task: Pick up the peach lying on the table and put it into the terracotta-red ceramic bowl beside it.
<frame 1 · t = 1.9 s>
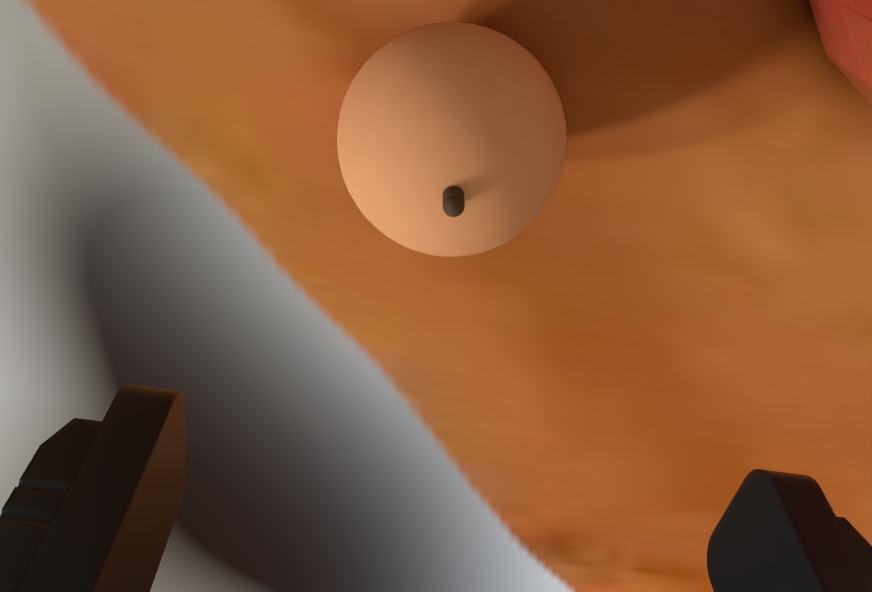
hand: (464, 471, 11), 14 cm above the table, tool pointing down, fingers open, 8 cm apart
peach: (450, 101, 22), on the table
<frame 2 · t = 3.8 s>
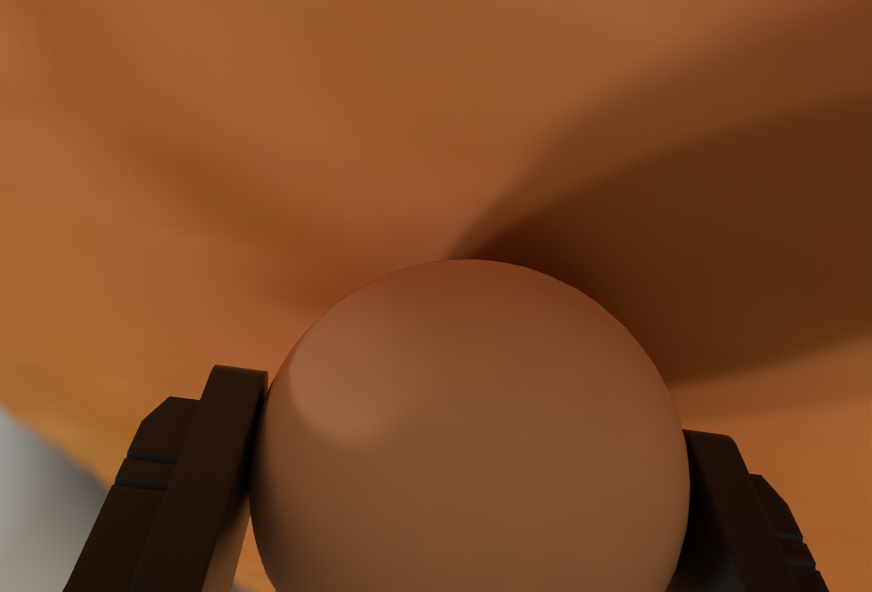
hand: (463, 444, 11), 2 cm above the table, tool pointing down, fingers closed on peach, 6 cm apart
peach: (461, 340, 13), on the table, touching gripper
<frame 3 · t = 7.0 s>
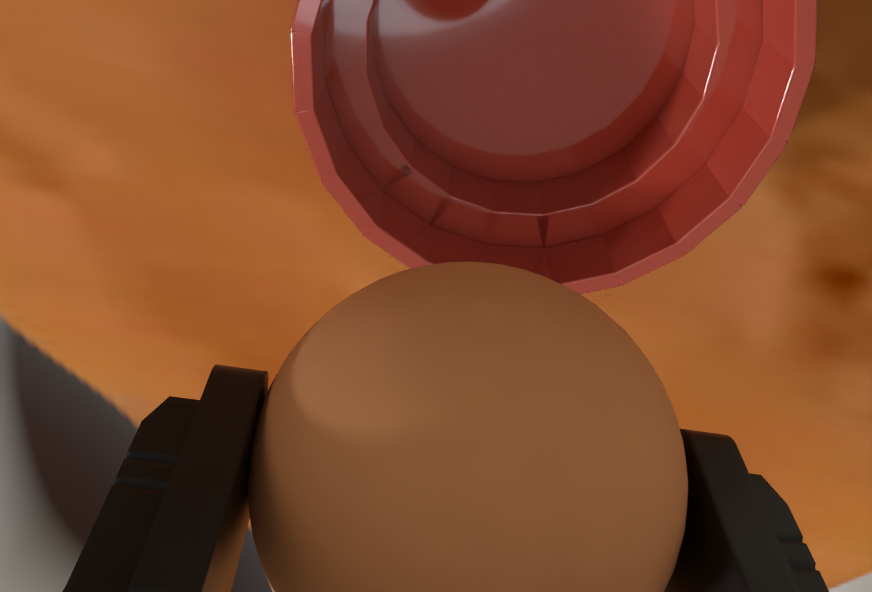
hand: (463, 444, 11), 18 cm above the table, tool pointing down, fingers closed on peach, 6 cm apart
bowl: (530, 32, 25), on the table
peach: (460, 342, 13), point 16 cm above the table, touching gripper
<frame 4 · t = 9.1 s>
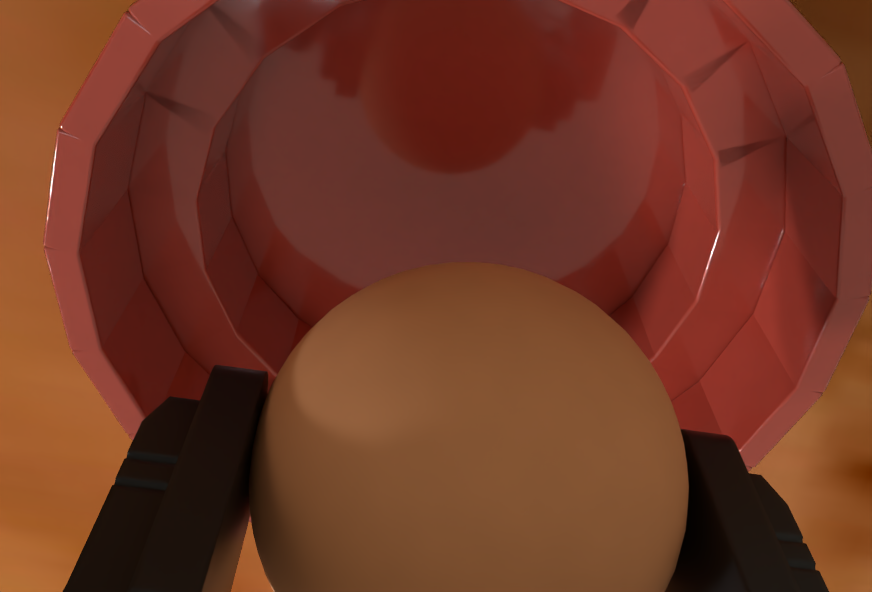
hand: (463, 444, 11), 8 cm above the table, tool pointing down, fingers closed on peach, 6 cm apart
bowl: (454, 186, 18), on the table
peach: (461, 342, 13), point 6 cm above the table, touching gripper
when the fingers open (5 cm above the table, at t = 10.6 s): peach drops 2 cm, resting on bowl.
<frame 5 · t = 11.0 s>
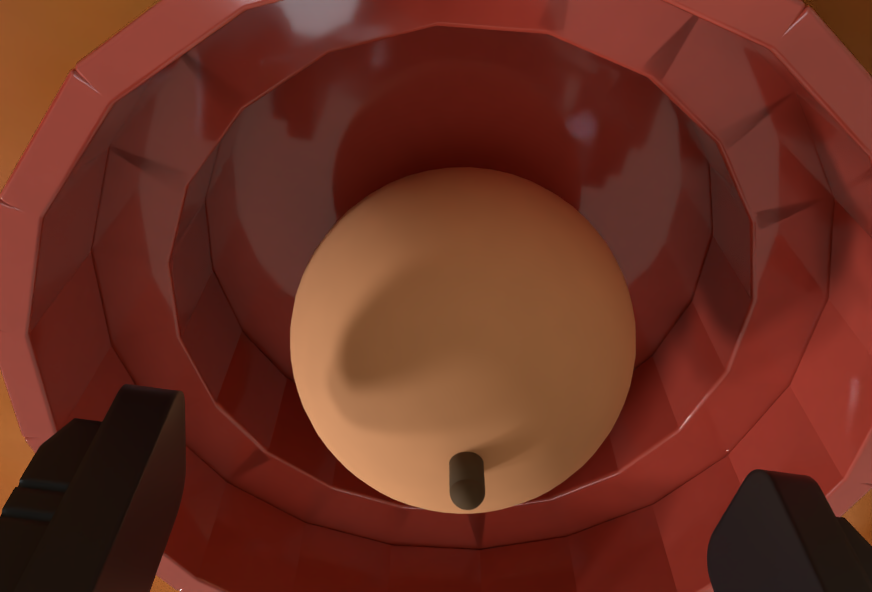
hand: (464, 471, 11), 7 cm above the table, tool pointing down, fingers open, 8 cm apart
bowl: (457, 237, 16), on the table
peach: (458, 251, 16), point 1 cm above the table, touching bowl
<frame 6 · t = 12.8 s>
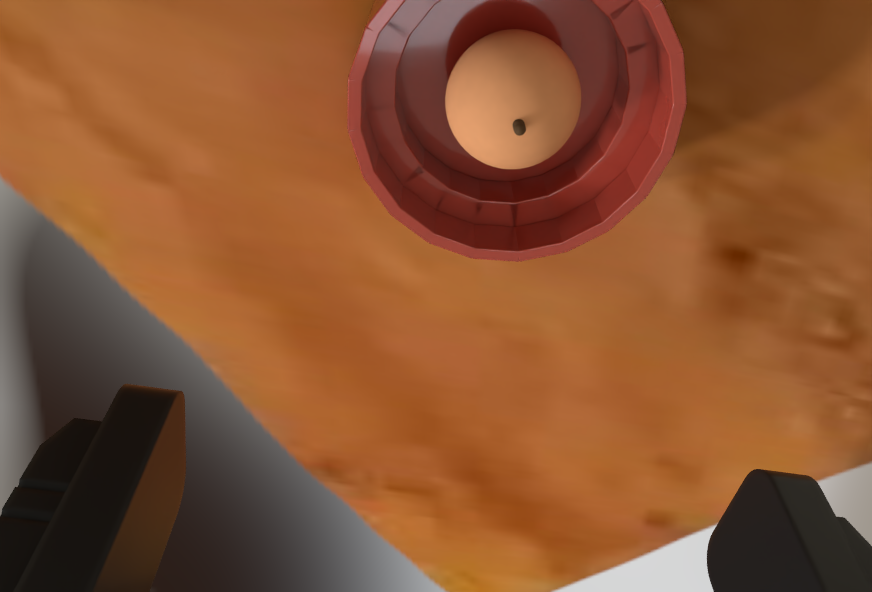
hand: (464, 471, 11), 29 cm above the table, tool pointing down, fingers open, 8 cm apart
bowl: (506, 76, 36), on the table
peach: (507, 80, 36), point 1 cm above the table, touching bowl
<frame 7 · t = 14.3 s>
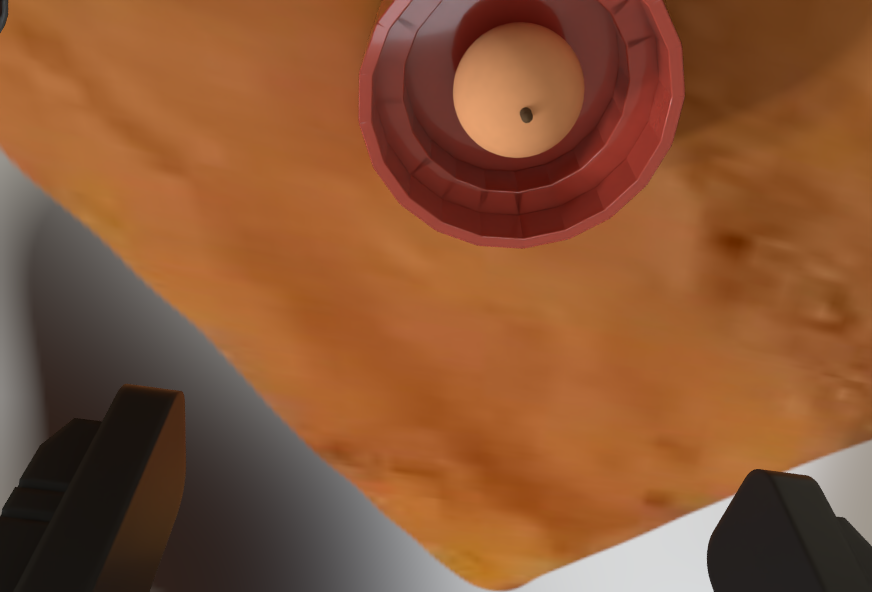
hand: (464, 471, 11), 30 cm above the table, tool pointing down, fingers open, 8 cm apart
bowl: (510, 69, 38), on the table
peach: (511, 72, 37), point 1 cm above the table, touching bowl
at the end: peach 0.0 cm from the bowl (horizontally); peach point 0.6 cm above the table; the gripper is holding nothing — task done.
